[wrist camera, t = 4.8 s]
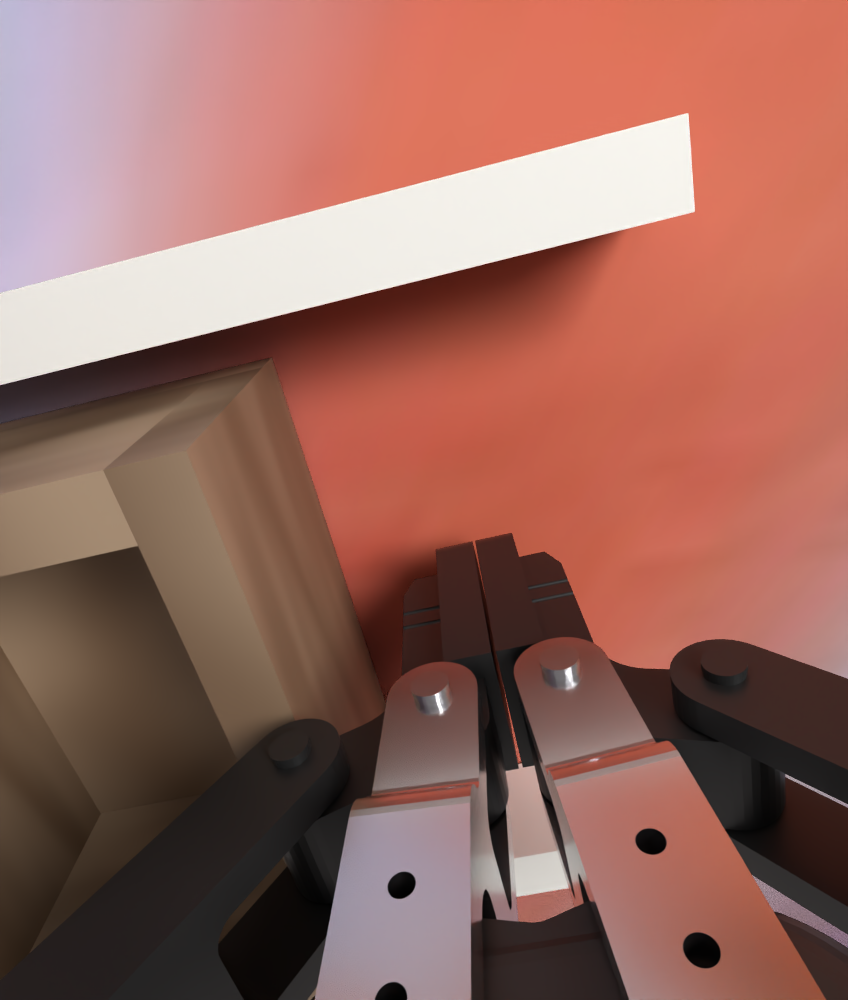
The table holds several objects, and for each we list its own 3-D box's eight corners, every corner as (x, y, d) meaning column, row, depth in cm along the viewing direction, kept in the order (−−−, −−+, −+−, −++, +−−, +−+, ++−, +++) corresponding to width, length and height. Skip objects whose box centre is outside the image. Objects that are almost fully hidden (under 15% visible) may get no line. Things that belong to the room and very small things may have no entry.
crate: (271, 357, 12) (185, 451, 8) (405, 763, 16) (401, 984, 12) (-130, 455, 13) (-433, 596, 8) (93, 822, 17) (-27, 1054, 12)
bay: (630, 132, 11) (849, 59, 5) (693, 768, 17) (831, 1048, 11) (-484, 422, 13) (-1176, 591, 7) (-84, 910, 18) (-297, 1214, 13)
